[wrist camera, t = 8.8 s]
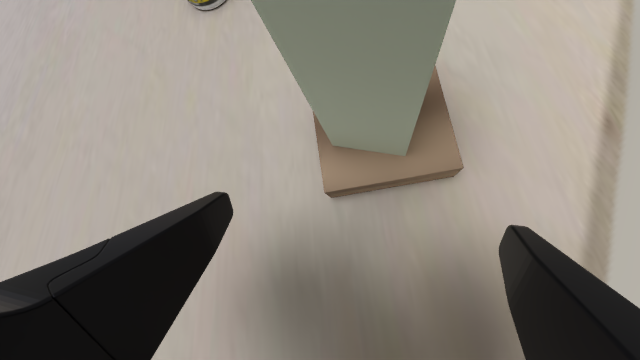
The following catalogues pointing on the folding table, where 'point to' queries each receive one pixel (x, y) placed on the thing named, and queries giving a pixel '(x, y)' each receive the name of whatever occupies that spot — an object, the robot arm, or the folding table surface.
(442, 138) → the walnut block
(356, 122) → the sage post
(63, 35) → the folding table surface
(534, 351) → the robot arm
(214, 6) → the supplement bottle
